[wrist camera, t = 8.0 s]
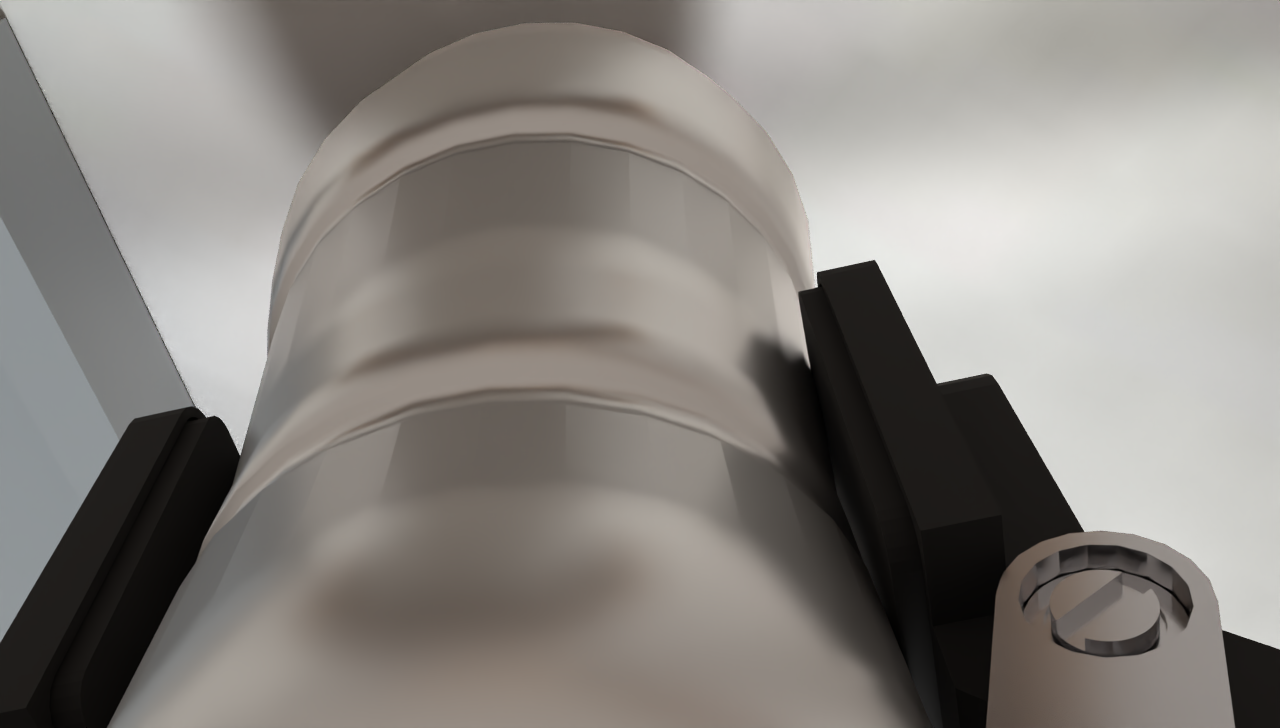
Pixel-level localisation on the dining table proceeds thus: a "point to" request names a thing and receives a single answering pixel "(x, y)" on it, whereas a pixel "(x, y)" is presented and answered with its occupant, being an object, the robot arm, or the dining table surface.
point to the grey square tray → (59, 337)
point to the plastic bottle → (534, 427)
